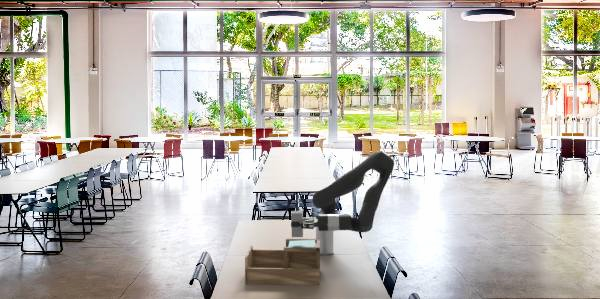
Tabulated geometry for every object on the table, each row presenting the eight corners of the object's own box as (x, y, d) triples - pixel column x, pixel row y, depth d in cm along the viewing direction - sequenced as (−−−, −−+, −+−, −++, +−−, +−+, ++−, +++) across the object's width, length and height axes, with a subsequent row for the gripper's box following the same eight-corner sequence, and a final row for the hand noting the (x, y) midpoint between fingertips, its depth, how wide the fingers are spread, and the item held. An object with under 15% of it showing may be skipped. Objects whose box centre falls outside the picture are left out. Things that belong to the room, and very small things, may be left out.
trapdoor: (289, 242, 281) (289, 240, 281) (315, 242, 281) (315, 239, 281) (288, 249, 269) (287, 247, 269) (314, 249, 269) (314, 247, 269)
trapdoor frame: (250, 269, 288) (250, 236, 286) (320, 270, 286) (320, 237, 285) (245, 283, 268) (244, 248, 266) (319, 284, 267) (319, 249, 265)
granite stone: (292, 234, 277) (291, 211, 276) (303, 234, 277) (302, 210, 276) (291, 237, 272) (291, 213, 271) (302, 237, 272) (302, 213, 271)
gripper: (328, 211, 280) (292, 211, 281) (328, 218, 266) (290, 218, 267) (328, 226, 281) (292, 227, 282) (329, 234, 267) (290, 235, 267)
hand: (291, 223), depth 274 cm, fingers closed on granite stone, 5 cm apart
